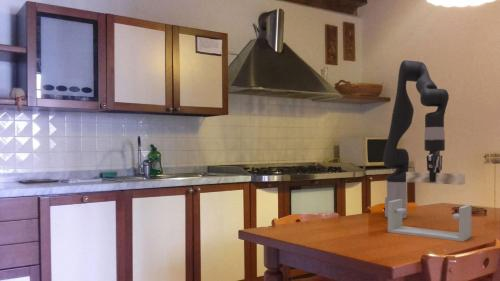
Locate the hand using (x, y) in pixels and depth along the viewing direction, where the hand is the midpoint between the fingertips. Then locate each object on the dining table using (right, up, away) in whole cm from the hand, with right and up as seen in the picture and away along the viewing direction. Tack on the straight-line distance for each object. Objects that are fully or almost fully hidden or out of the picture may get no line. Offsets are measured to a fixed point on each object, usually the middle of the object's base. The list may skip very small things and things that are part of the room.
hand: (434, 181), depth 186 cm
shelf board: (0, -1, 0) cm, 1 cm away
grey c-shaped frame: (-4, -20, -4) cm, 21 cm away
